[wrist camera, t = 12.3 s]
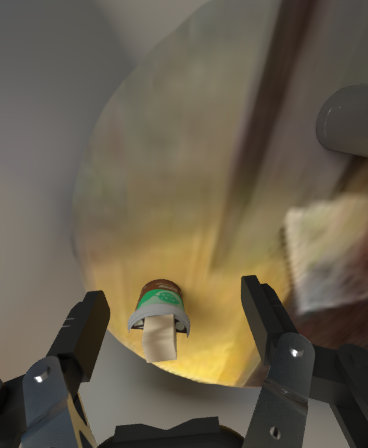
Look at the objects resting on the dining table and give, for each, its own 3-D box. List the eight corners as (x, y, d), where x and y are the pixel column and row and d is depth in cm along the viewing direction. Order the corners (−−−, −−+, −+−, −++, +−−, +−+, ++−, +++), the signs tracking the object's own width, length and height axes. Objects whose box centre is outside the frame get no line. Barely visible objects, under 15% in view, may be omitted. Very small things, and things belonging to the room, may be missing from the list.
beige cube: (173, 314, 38) (173, 340, 33) (176, 332, 40) (176, 359, 36) (145, 317, 38) (141, 344, 33) (149, 335, 40) (147, 362, 35)
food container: (192, 278, 47) (197, 316, 38) (187, 298, 50) (190, 338, 41) (136, 271, 46) (128, 309, 37) (134, 292, 48) (125, 332, 39)
